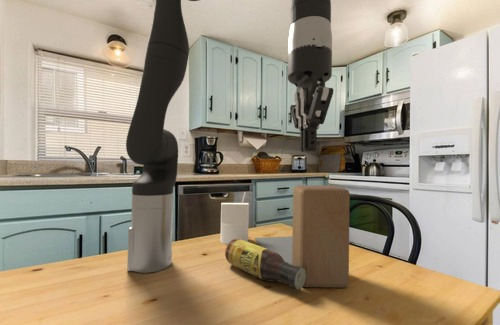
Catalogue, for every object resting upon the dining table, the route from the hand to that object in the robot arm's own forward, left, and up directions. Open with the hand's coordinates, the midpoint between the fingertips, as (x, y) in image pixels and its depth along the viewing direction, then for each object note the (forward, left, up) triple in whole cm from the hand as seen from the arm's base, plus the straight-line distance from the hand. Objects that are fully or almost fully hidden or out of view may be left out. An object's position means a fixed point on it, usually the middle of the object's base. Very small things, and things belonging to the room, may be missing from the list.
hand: (308, 151), depth 43 cm
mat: (+7, +28, -27) cm, 40 cm away
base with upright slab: (-8, +39, -27) cm, 48 cm away
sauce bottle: (-11, +21, -24) cm, 34 cm away
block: (+7, +10, -27) cm, 30 cm away
